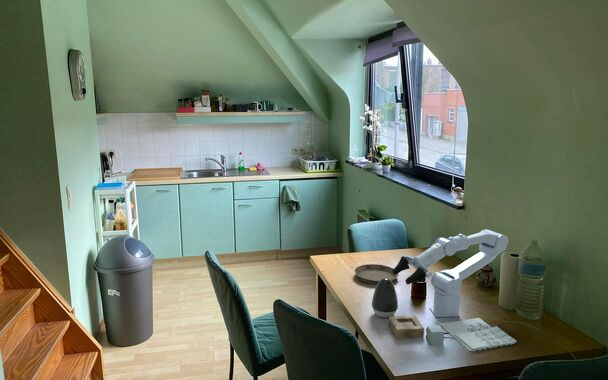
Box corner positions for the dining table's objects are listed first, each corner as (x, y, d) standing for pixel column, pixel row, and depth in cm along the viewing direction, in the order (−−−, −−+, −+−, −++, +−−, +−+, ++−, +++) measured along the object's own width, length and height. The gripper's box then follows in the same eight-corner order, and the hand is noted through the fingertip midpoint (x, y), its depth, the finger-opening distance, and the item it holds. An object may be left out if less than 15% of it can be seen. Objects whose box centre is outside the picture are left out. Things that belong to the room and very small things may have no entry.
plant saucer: (396, 270, 226) (396, 264, 226) (400, 288, 206) (400, 281, 206) (354, 269, 228) (354, 263, 228) (354, 286, 208) (354, 279, 208)
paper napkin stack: (470, 354, 155) (471, 348, 154) (437, 325, 174) (438, 320, 173) (517, 345, 160) (518, 339, 159) (480, 318, 179) (480, 313, 178)
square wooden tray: (414, 323, 174) (415, 315, 173) (423, 337, 164) (424, 328, 163) (389, 324, 173) (389, 316, 172) (396, 338, 163) (396, 329, 162)
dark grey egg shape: (378, 322, 174) (379, 285, 171) (367, 310, 184) (368, 275, 181) (402, 319, 177) (404, 282, 174) (390, 307, 187) (391, 272, 184)
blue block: (438, 338, 164) (439, 325, 163) (443, 344, 159) (444, 331, 158) (426, 338, 163) (427, 325, 162) (430, 345, 159) (431, 332, 158)
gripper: (413, 242, 178) (385, 260, 174) (439, 259, 166) (410, 278, 162) (416, 256, 182) (389, 274, 178) (442, 273, 170) (414, 293, 166)
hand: (399, 277), depth 170 cm, fingers open, 7 cm apart
